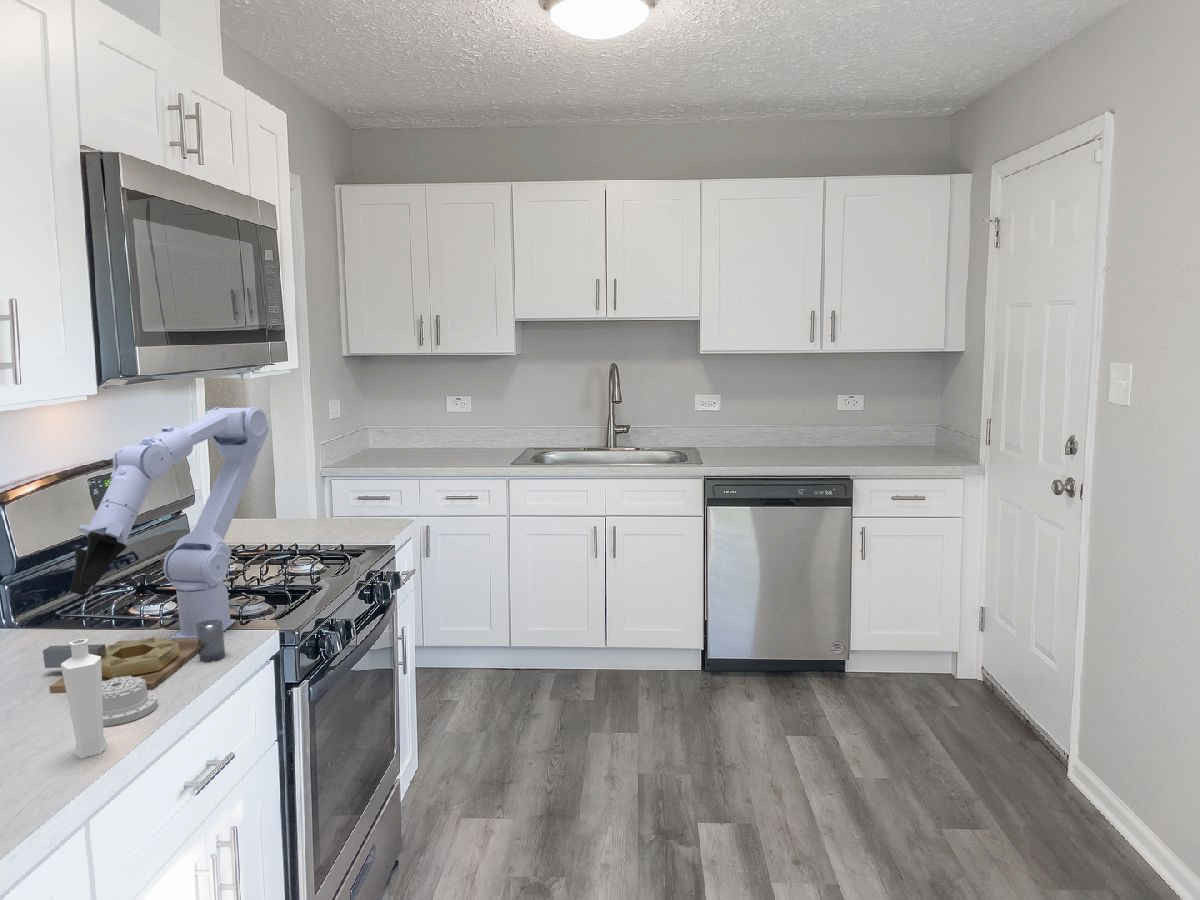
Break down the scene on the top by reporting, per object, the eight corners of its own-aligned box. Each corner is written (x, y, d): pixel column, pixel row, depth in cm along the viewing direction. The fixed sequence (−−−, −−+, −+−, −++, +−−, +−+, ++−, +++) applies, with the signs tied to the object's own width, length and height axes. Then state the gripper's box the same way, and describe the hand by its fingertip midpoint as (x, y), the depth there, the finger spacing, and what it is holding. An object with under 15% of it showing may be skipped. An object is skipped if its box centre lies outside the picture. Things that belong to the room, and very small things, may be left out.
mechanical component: (91, 704, 132) (70, 733, 123) (87, 676, 132) (67, 703, 122) (164, 695, 135) (149, 722, 125) (161, 667, 134) (146, 693, 125)
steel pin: (206, 653, 152) (202, 620, 151) (229, 653, 152) (226, 619, 151) (195, 662, 148) (192, 627, 147) (219, 661, 148) (216, 627, 147)
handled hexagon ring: (188, 647, 151) (187, 630, 151) (149, 678, 138) (147, 659, 137) (72, 650, 151) (70, 634, 151) (22, 682, 138) (19, 663, 138)
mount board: (119, 646, 157) (118, 640, 157) (209, 643, 157) (209, 637, 156) (50, 692, 137) (49, 685, 137) (153, 689, 137) (152, 682, 137)
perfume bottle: (117, 749, 117) (105, 640, 115) (80, 761, 114) (67, 649, 112) (104, 739, 120) (92, 632, 118) (68, 751, 117) (55, 642, 115)
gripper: (83, 512, 147) (46, 589, 140) (102, 488, 137) (63, 569, 130) (127, 528, 150) (92, 603, 144) (149, 505, 140) (113, 585, 133)
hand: (82, 588), depth 137 cm, fingers open, 7 cm apart
